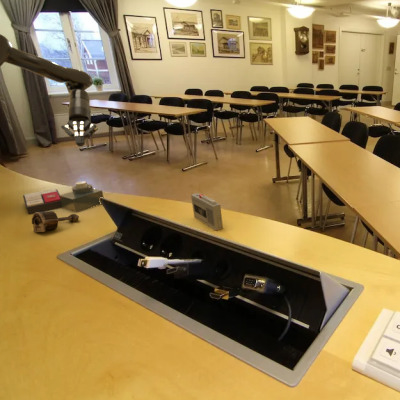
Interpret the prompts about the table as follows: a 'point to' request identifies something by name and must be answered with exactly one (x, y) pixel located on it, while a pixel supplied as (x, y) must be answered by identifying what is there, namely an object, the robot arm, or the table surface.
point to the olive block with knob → (81, 198)
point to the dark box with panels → (42, 201)
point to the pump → (81, 184)
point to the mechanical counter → (49, 220)
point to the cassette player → (207, 211)
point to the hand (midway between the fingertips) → (80, 145)
